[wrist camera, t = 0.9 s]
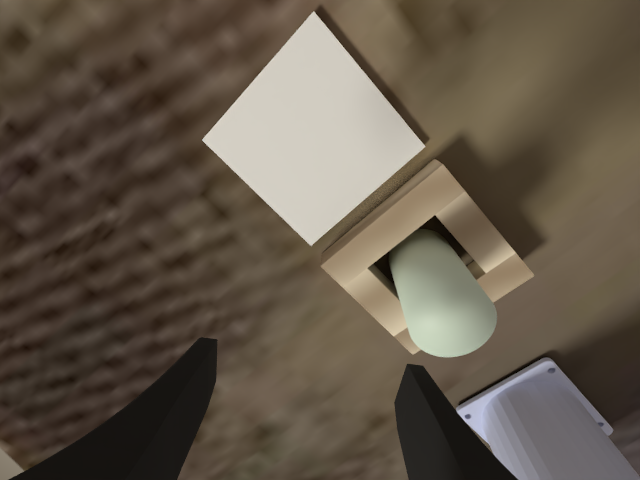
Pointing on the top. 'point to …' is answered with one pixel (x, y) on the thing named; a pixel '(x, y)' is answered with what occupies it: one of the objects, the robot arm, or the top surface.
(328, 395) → the top surface
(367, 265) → the pocket holder
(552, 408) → the robot arm
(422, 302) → the sage peg
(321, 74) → the pad
